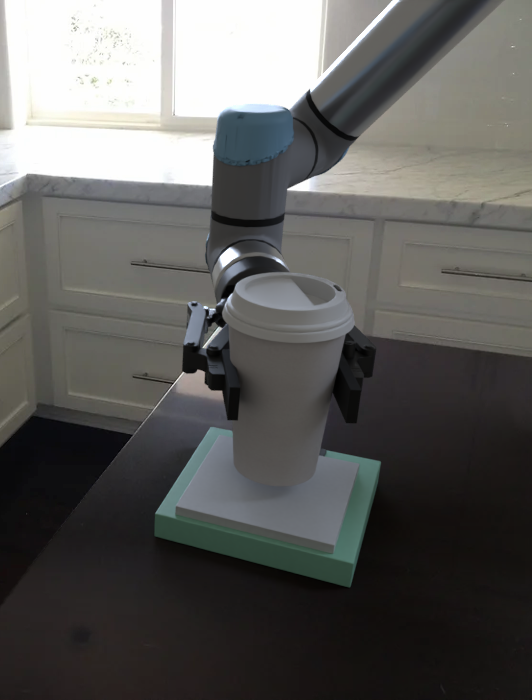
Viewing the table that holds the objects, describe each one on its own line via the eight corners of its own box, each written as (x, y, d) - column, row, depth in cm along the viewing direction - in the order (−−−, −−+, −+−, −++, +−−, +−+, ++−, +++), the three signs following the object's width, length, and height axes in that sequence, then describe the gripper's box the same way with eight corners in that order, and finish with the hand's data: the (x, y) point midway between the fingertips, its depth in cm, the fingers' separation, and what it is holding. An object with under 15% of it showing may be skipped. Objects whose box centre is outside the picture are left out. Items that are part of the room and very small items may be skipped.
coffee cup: (332, 507, 64) (355, 321, 58) (204, 486, 67) (213, 307, 61) (339, 443, 72) (360, 274, 66) (224, 427, 75) (234, 263, 69)
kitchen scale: (209, 446, 81) (211, 418, 79) (377, 482, 75) (382, 452, 73) (153, 536, 68) (154, 504, 67) (350, 588, 62) (355, 554, 61)
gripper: (360, 330, 84) (432, 454, 63) (145, 326, 85) (148, 446, 64) (370, 255, 80) (450, 360, 60) (147, 253, 82) (150, 355, 61)
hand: (293, 405), depth 62 cm, fingers closed on coffee cup, 8 cm apart
